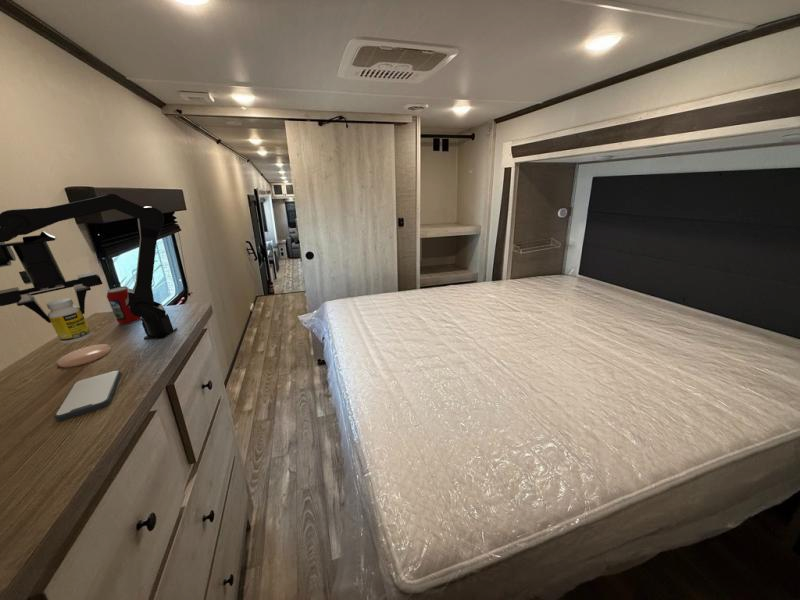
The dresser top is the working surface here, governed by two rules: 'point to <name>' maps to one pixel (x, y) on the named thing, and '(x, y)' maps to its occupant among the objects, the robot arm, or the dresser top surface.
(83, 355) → the tan round disc
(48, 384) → the dresser top surface
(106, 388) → the phone case
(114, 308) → the beverage can
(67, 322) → the pill bottle
